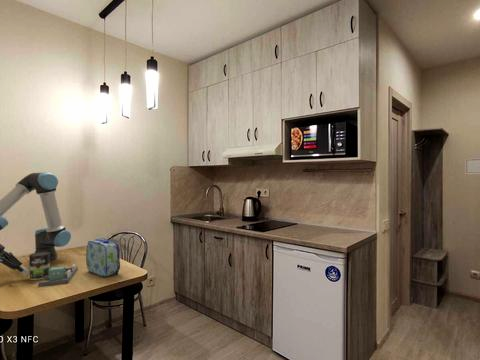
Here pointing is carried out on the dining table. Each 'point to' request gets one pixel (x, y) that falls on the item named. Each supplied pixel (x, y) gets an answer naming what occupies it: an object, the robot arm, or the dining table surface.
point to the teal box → (57, 273)
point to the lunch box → (103, 257)
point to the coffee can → (39, 265)
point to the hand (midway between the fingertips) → (28, 273)
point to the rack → (68, 277)
